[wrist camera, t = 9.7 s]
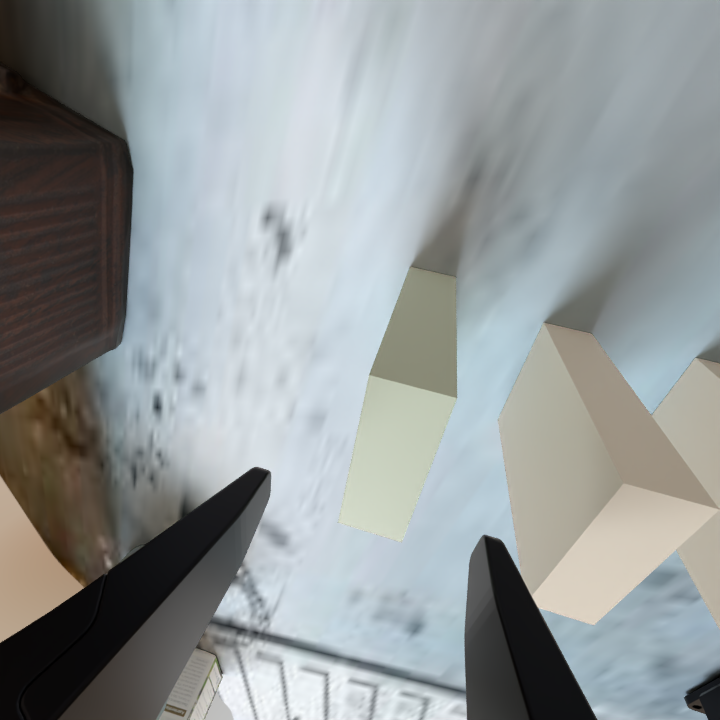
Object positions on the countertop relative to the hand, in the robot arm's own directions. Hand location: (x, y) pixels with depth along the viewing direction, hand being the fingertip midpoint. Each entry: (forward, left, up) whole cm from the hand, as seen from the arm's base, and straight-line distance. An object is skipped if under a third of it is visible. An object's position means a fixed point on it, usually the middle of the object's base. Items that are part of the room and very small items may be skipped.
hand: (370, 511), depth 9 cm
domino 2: (-6, 0, -9) cm, 10 cm away
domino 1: (0, -1, -9) cm, 9 cm away
